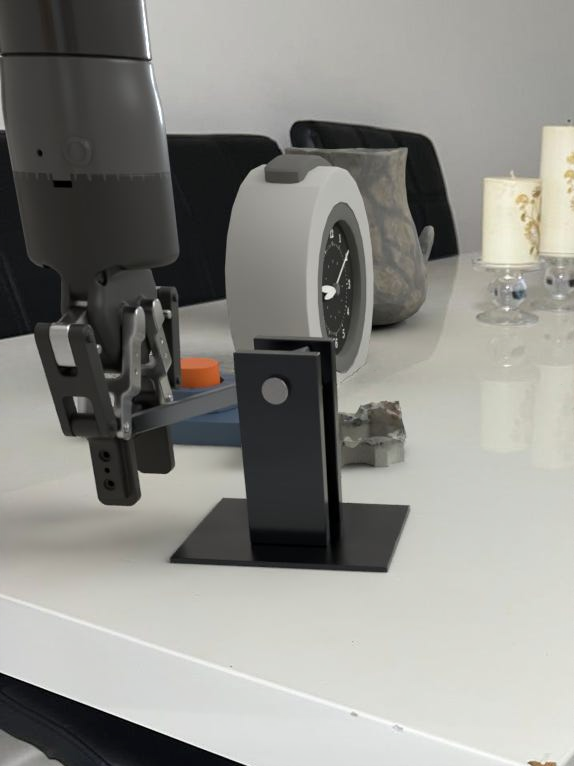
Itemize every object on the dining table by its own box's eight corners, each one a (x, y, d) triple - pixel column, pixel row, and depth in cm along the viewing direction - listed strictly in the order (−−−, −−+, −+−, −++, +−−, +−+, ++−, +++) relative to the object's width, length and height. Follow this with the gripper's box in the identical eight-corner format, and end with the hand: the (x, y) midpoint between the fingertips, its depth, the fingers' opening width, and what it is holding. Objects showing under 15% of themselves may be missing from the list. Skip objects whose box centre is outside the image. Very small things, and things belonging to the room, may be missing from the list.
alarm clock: (312, 403, 89) (298, 158, 80) (233, 397, 91) (211, 156, 81) (376, 356, 108) (370, 153, 99) (310, 352, 109) (299, 151, 100)
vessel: (261, 339, 115) (245, 146, 106) (271, 308, 134) (259, 143, 125) (448, 338, 118) (448, 150, 108) (432, 308, 137) (431, 146, 128)
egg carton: (406, 452, 77) (406, 399, 75) (406, 482, 70) (406, 425, 68) (267, 450, 76) (263, 397, 74) (253, 481, 70) (249, 423, 68)
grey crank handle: (103, 463, 55) (84, 421, 54) (137, 438, 59) (119, 399, 58) (309, 404, 52) (293, 359, 51) (328, 382, 57) (313, 341, 56)
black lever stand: (171, 577, 55) (142, 360, 49) (224, 515, 64) (204, 324, 58) (387, 587, 54) (382, 368, 49) (410, 522, 63) (408, 331, 58)
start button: (159, 390, 76) (156, 367, 75) (177, 379, 79) (174, 356, 78) (211, 392, 75) (209, 369, 75) (226, 380, 79) (224, 358, 78)
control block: (100, 452, 75) (91, 393, 73) (148, 418, 84) (141, 364, 82) (258, 459, 74) (252, 399, 72) (289, 423, 83) (285, 369, 81)
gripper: (79, 158, 57) (123, 449, 64) (-58, 167, 44) (17, 529, 52) (209, 161, 56) (237, 453, 64) (109, 171, 43) (159, 535, 51)
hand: (139, 485), depth 58 cm, fingers closed on grey crank handle, 5 cm apart
